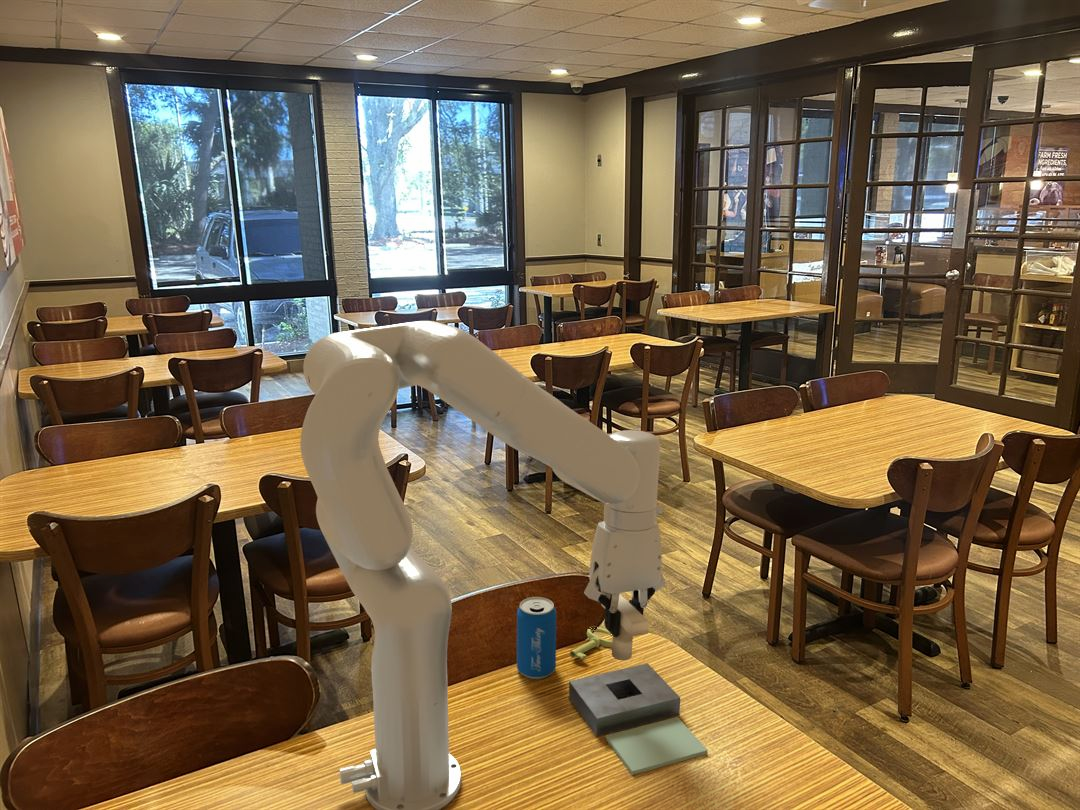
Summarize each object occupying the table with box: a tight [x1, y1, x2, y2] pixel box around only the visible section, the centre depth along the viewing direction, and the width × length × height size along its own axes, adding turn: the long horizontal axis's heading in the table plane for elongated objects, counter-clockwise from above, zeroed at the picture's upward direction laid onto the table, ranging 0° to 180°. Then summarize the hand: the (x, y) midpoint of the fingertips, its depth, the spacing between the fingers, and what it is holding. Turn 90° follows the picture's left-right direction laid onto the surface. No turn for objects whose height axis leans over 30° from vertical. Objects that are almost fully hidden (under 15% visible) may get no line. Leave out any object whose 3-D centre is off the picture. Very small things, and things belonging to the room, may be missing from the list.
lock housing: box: [568, 663, 681, 737], centre depth 119 cm, size 14×10×3 cm
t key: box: [600, 593, 650, 661], centre depth 116 cm, size 10×3×8 cm, turn 22°
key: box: [569, 626, 613, 660], centre depth 135 cm, size 7×12×2 cm, turn 158°
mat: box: [605, 716, 708, 776], centre depth 110 cm, size 12×8×1 cm, turn 112°
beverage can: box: [516, 596, 557, 680], centre depth 127 cm, size 6×6×12 cm
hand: (623, 629), depth 116 cm, fingers closed on t key, 3 cm apart
